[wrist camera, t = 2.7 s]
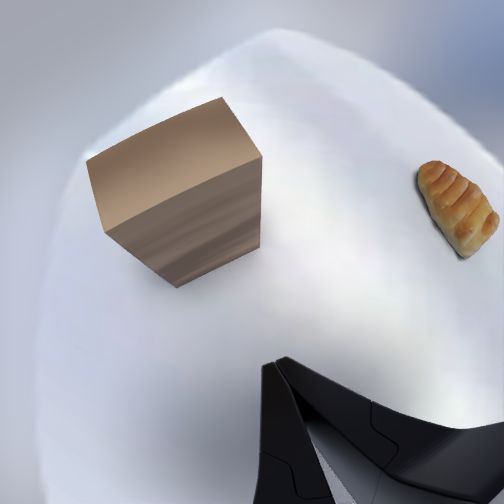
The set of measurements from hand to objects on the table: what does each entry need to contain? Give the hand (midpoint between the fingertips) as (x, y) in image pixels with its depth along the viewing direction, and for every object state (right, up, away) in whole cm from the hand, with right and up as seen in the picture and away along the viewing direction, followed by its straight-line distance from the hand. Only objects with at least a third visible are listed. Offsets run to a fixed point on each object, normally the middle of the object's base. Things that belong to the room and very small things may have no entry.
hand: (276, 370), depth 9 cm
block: (-4, +4, +15) cm, 16 cm away
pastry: (+18, +7, +16) cm, 25 cm away
